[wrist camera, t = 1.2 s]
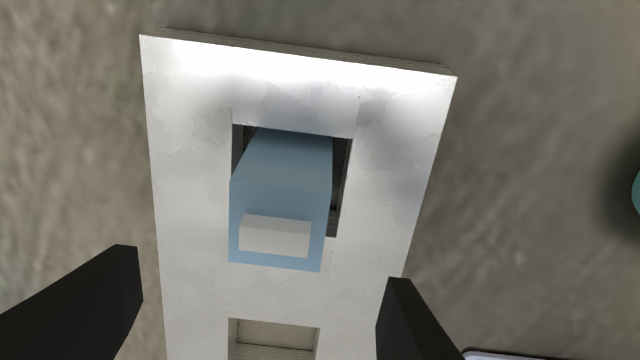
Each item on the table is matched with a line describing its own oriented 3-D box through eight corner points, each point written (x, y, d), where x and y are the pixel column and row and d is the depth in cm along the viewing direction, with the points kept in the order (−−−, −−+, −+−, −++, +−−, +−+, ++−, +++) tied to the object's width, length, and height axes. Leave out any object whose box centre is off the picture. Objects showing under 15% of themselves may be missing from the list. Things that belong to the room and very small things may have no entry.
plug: (332, 132, 19) (331, 205, 12) (323, 195, 20) (318, 287, 14) (260, 123, 18) (223, 191, 12) (256, 187, 20) (222, 275, 14)
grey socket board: (441, 64, 17) (457, 76, 15) (357, 386, 27) (359, 422, 25) (165, 27, 17) (138, 34, 14) (184, 367, 27) (171, 402, 24)
